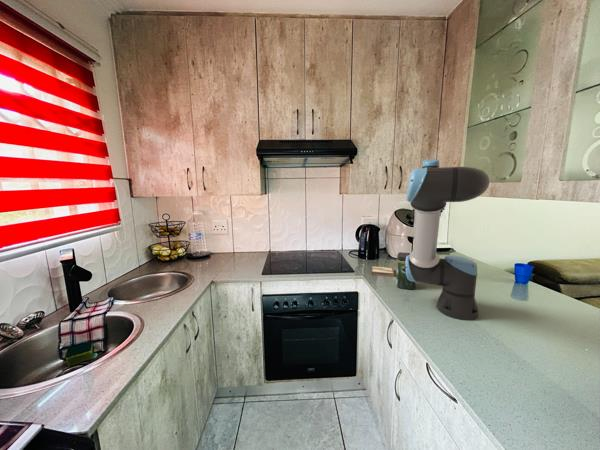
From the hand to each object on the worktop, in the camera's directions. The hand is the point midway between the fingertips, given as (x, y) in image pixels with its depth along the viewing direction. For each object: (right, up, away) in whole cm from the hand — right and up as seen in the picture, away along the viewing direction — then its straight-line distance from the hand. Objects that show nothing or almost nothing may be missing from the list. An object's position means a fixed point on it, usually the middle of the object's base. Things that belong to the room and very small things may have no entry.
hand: (426, 225), depth 141 cm
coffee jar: (-15, -33, -8) cm, 37 cm away
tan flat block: (-21, -29, +13) cm, 38 cm away
